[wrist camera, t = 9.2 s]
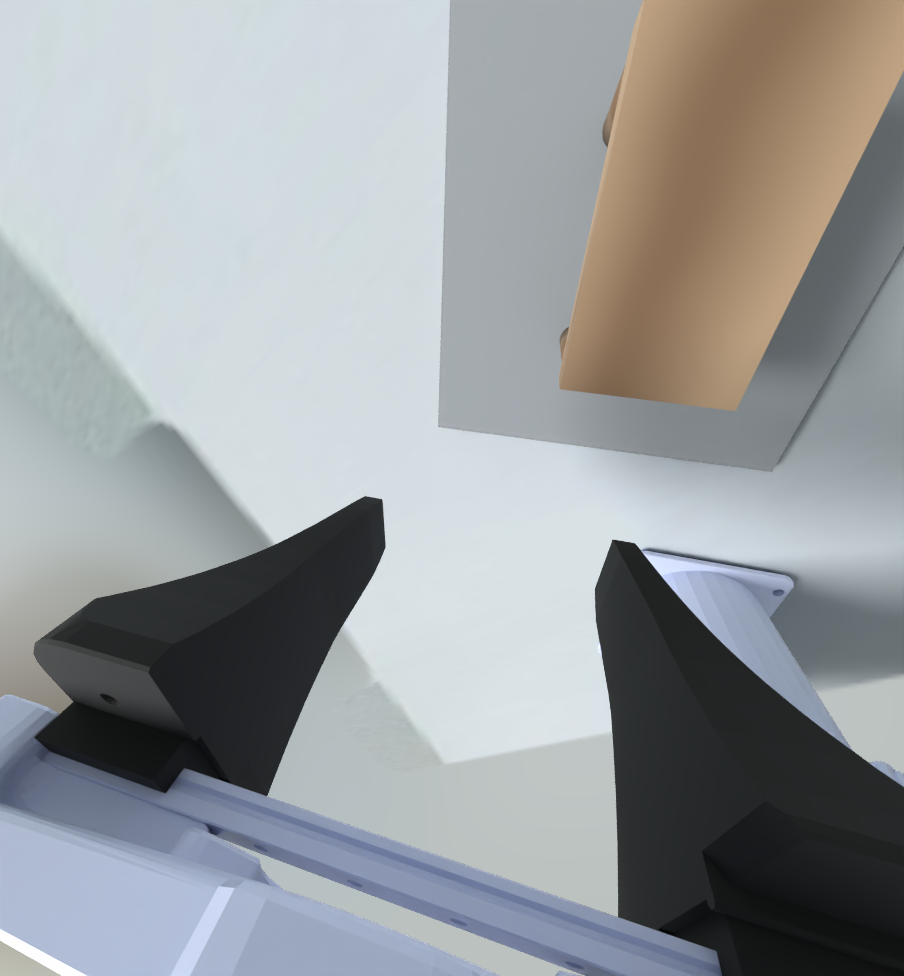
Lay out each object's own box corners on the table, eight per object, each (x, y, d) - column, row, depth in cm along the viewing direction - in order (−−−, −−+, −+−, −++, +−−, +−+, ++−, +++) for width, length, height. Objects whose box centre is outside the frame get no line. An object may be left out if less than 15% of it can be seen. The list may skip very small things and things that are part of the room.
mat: (765, 465, 17) (771, 471, 17) (440, 422, 20) (438, 426, 19) (1093, -112, 9) (1126, -134, 8) (456, -49, 12) (452, -63, 11)
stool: (775, 102, 11) (954, -33, 6) (675, 365, 15) (735, 411, 10) (607, 102, 12) (648, -16, 7) (557, 352, 16) (559, 389, 11)
